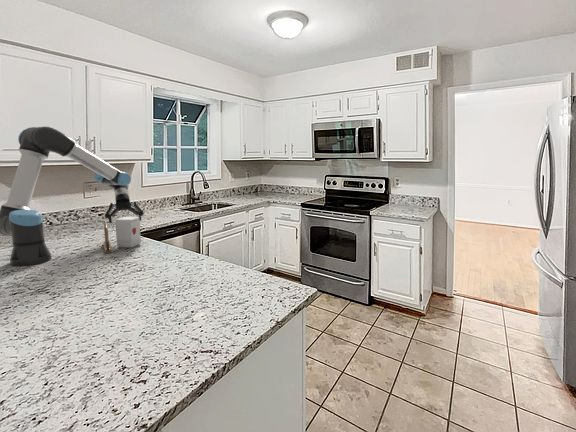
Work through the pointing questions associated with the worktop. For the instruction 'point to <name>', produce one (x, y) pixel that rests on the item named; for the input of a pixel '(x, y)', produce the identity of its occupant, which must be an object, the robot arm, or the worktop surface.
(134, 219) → the supplement box
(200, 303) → the worktop surface
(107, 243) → the cabinet door handle
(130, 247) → the mat
